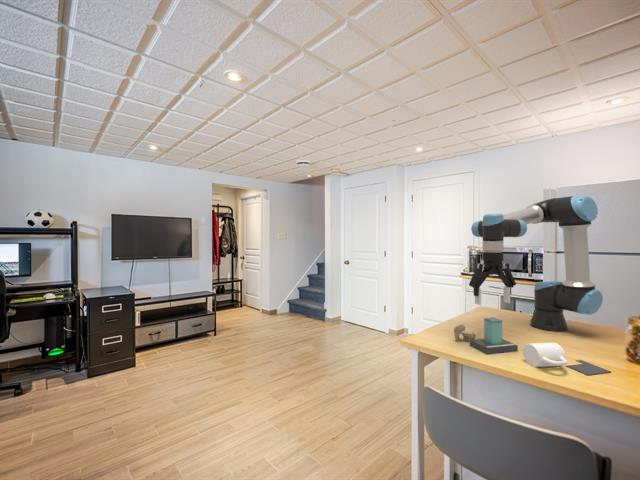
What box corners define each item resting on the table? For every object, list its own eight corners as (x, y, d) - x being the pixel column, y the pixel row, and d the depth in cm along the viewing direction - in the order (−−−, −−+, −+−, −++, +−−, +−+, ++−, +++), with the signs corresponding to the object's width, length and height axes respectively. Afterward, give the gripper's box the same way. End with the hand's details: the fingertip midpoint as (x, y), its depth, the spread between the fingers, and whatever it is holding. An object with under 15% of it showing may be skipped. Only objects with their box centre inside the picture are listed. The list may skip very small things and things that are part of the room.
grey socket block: (498, 344, 133) (498, 336, 133) (517, 352, 123) (517, 344, 123) (469, 346, 130) (469, 339, 130) (487, 355, 120) (487, 347, 120)
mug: (522, 361, 114) (522, 340, 114) (547, 360, 115) (547, 339, 115) (549, 376, 102) (549, 352, 102) (577, 375, 103) (577, 351, 103)
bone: (475, 336, 138) (474, 320, 134) (476, 348, 133) (475, 331, 129) (454, 335, 142) (453, 319, 137) (455, 346, 137) (453, 330, 132)
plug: (493, 346, 129) (493, 317, 129) (502, 350, 124) (502, 320, 124) (484, 346, 128) (484, 318, 128) (492, 351, 124) (492, 321, 123)
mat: (580, 360, 114) (580, 359, 114) (611, 372, 104) (611, 371, 104) (558, 363, 112) (558, 362, 112) (587, 375, 102) (587, 374, 102)
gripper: (511, 250, 132) (511, 300, 132) (459, 251, 127) (459, 302, 127) (526, 251, 125) (526, 303, 125) (472, 252, 119) (472, 306, 120)
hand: (492, 303), depth 126 cm, fingers open, 13 cm apart
